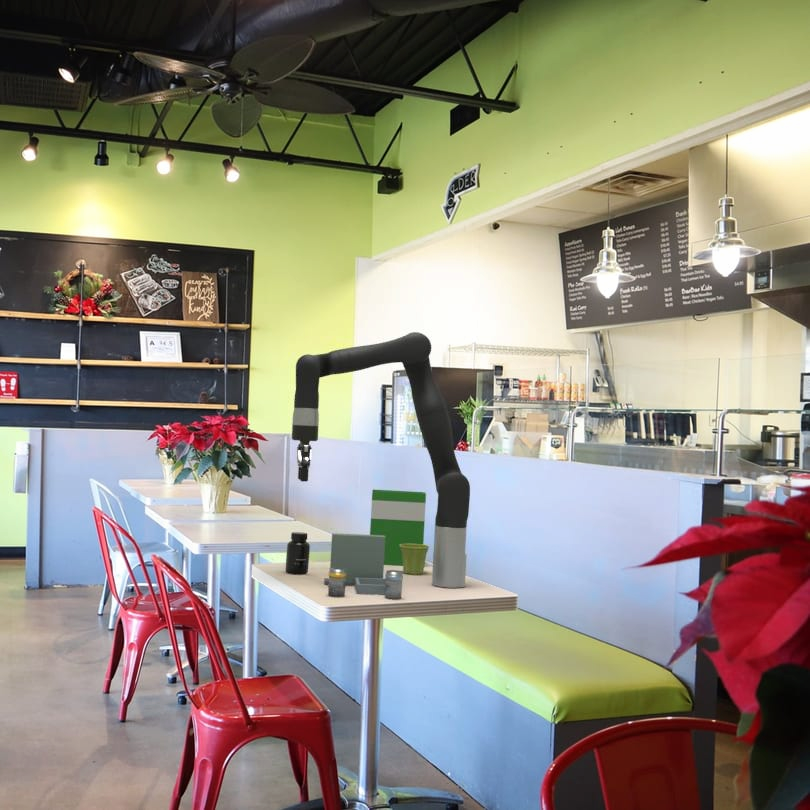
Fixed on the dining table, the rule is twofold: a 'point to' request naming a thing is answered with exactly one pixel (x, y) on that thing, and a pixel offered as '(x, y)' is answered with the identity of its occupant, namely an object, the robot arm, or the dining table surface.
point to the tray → (370, 586)
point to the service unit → (358, 556)
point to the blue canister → (393, 584)
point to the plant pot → (413, 558)
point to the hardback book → (397, 521)
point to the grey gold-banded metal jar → (337, 582)
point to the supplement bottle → (297, 554)
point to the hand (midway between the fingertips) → (302, 480)
